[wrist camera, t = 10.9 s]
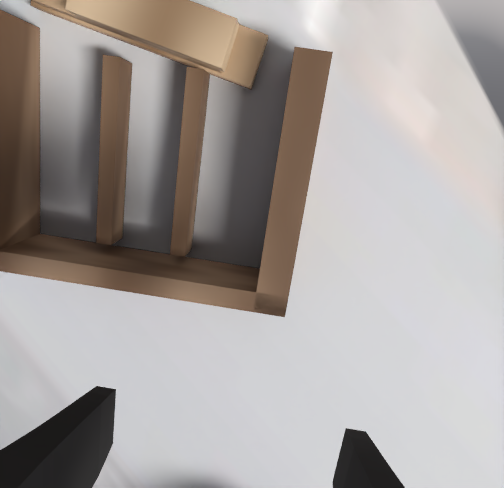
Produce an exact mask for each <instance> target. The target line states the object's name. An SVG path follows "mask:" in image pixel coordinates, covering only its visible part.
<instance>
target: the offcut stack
mask: <svg viewBox="0 0 504 488" xmlns="http://www.w3.org/2000/svg"><path fill="white" fill-rule="evenodd" d="M31 6H33V7H35V8H37V9H39V10H41V11H44V12H46V13H49V14H52V15H54V16H57V17H60V18H62V19H65V20H68V21H70V22H73V23H76V24H78V25H81V26H84V27H86V28H89V29H92V30H94V31H97V32H100V33H102V34H105V35H107V36H110V37H113V38H115V39H118V40H121V41H123V42H126V43H129V44H131V45H134V46H137V47H139V48H142V49H145V50H147V51H150V52H153V53H155V54H158V55H161V56H163V57H166V58H169V59H171V60H174V61H177V62H179V63H182V64H184V65H187V66H190V67H192V68H199V69H204V70H205V71H207V72H208V73H209V74H211V75H214V76H216V77H219V78H222V79H224V80H227V81H230V82H232V83H235V84H238V85H240V86H243V87H246V88H248V89H252V86H253V83H254V80H255V77H256V74H257V71H258V68H259V65H260V62H261V59H262V56H263V53H264V50H265V47H266V44H267V41H268V35H266V34H263V33H260V32H258V31H255V30H253V29H250V28H247V27H245V26H242V25H239V23H238V21H237V18H234V17H231V16H229V15H226V14H224V13H221V12H218V11H216V10H213V9H210V8H208V7H205V6H203V5H200V4H197V3H195V2H192V1H189V0H31Z"/></svg>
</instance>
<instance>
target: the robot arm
mask: <svg viewBox="0 0 504 488" xmlns="http://www.w3.org/2000/svg"><path fill="white" fill-rule="evenodd" d="M115 395H116V389H111V388H105V387H99V386H96V387H95V388H93V389H92V390H91V391H89V392H88V393H86V394H85V395H83V396H82V397H80V398H79V399H78V400H76V401H75V402H73V403H72V404H71V405H69V406H68V407H66V408H65V409H63V410H62V411H61V412H59V413H58V414H56V415H55V416H53V417H52V418H50V419H49V420H47V421H46V422H44V423H43V424H41V425H40V426H38V427H37V428H35V429H34V430H32V431H31V432H29V433H28V434H26V435H24V436H23V437H21V438H19V439H18V440H16V441H15V442H13V443H11V444H10V445H8V446H7V447H5V448H3V449H2V450H0V488H92V487H93V485H94V483H95V481H96V480H97V478H98V476H99V474H100V471H101V469H102V467H103V465H104V463H105V460H106V458H107V456H108V453H109V451H110V449H111V446H112V444H113V430H114V412H115ZM333 488H405V487H404V486H403V484H402V483H401V482H400V480H399V479H398V478H397V476H396V475H395V473H394V472H393V471H392V469H391V468H390V466H389V465H388V463H387V462H386V460H385V459H384V458H383V456H382V455H381V453H380V452H379V450H378V449H377V447H376V446H375V444H374V443H373V441H372V440H371V439H370V437H369V436H368V434H367V433H366V432H364V431H358V430H353V429H347V428H346V430H345V434H344V438H343V442H342V446H341V450H340V454H339V458H338V462H337V466H336V470H335V474H334V478H333Z"/></svg>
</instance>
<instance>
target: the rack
mask: <svg viewBox="0 0 504 488" xmlns="http://www.w3.org/2000/svg"><path fill="white" fill-rule="evenodd" d="M332 53H333V52H328V51H321V50H314V49H307V48H300V47H295V48H294V55H293V61H292V67H291V74H290V80H289V86H288V93H287V99H286V106H285V112H284V118H283V125H282V131H281V137H280V144H279V150H278V157H277V163H276V169H275V176H274V182H273V189H272V195H271V201H270V208H269V214H268V221H267V227H266V233H265V240H264V246H263V253H262V259H261V265H260V269H259V268H253V267H247V266H241V265H234V264H228V263H222V262H215V261H209V260H203V259H196V258H190V257H185V256H186V255H187V254H188V253H189V251H190V250H191V249H192V240H193V230H194V221H195V211H196V202H197V192H198V183H199V173H200V164H201V154H202V145H203V135H204V126H205V116H206V107H207V97H208V88H209V78H210V74H209V73H208V72H207V71H205V70H204V69H199V68H192V67H187V70H186V81H185V92H184V103H183V114H182V125H181V136H180V147H179V159H178V170H177V181H176V192H175V203H174V214H173V225H172V236H171V247H170V254H165V253H158V252H152V251H146V250H139V249H133V248H127V247H120V246H114V245H112V244H114V243H115V242H117V241H119V240H120V239H122V237H123V219H124V201H125V183H126V165H127V147H128V129H129V111H130V93H131V75H132V63H130V62H128V61H126V60H124V59H123V58H121V57H115V56H108V55H103V66H102V94H101V121H100V148H99V175H98V202H97V230H96V243H95V242H89V241H82V240H76V239H70V238H63V237H57V236H51V235H44V234H40V28H38V27H36V26H34V25H32V24H30V23H28V22H26V21H23V20H21V19H19V18H17V17H15V16H13V15H11V14H9V13H6V12H4V11H2V10H0V271H3V272H9V273H15V274H21V275H28V276H34V277H40V278H46V279H52V280H59V281H65V282H71V283H77V284H83V285H90V286H96V287H102V288H108V289H114V290H120V291H127V292H133V293H139V294H145V295H151V296H158V297H164V298H170V299H176V300H182V301H189V302H195V303H201V304H207V305H213V306H219V307H226V308H232V309H238V310H244V311H250V312H257V313H263V314H269V315H275V316H281V317H285V313H286V307H287V302H288V296H289V290H290V285H291V279H292V274H293V268H294V263H295V257H296V252H297V246H298V241H299V235H300V230H301V224H302V219H303V213H304V207H305V202H306V196H307V191H308V185H309V180H310V174H311V169H312V163H313V158H314V152H315V147H316V141H317V136H318V130H319V124H320V119H321V113H322V108H323V102H324V97H325V91H326V86H327V80H328V75H329V69H330V64H331V58H332Z"/></svg>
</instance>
